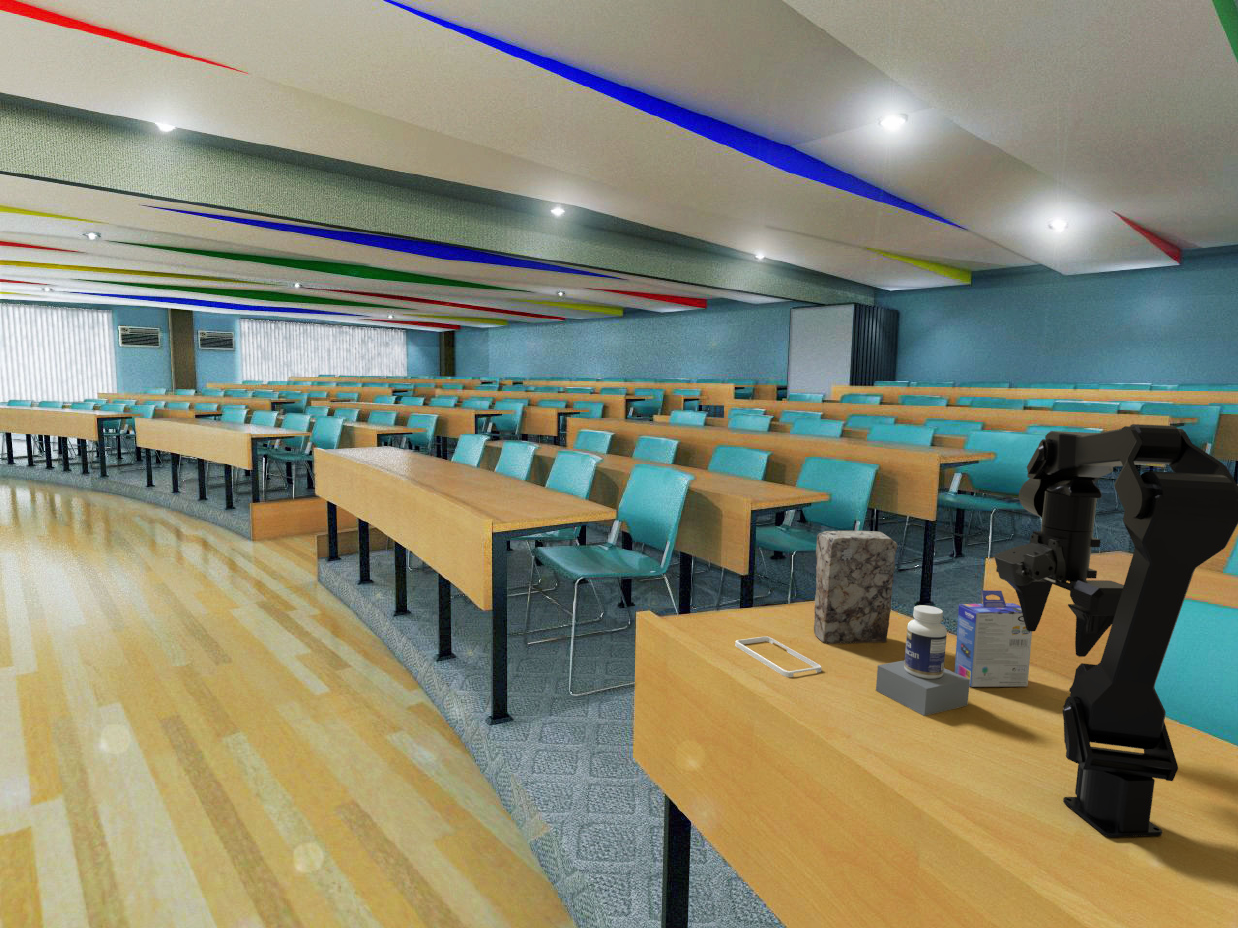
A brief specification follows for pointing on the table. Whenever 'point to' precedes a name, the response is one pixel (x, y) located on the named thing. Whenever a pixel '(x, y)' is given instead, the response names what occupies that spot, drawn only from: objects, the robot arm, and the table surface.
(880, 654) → the table surface
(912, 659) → the pill bottle
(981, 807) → the table surface
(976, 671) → the ink cartridge box
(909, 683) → the slate block
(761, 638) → the phone case
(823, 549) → the stone block
